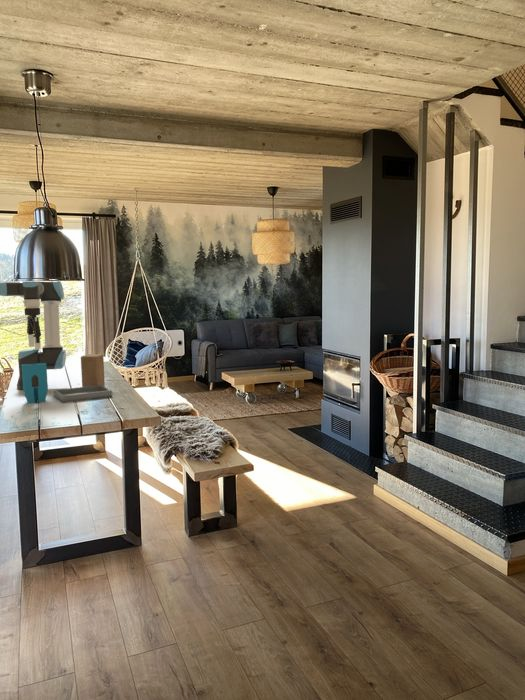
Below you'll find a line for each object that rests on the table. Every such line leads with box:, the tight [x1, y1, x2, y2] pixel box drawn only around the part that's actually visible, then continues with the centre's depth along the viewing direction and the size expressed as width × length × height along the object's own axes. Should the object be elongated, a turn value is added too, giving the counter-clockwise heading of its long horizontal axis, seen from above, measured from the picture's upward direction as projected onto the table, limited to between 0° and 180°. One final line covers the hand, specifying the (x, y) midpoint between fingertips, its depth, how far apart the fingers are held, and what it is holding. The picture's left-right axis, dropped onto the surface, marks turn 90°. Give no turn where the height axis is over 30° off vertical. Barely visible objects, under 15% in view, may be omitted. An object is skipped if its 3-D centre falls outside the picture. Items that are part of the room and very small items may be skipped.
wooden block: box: [80, 353, 106, 387], centre depth 330 cm, size 10×10×20 cm
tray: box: [53, 385, 113, 404], centre depth 308 cm, size 20×26×4 cm
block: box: [22, 363, 49, 404], centre depth 295 cm, size 12×5×20 cm, turn 115°
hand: (34, 348), depth 293 cm, fingers open, 13 cm apart
